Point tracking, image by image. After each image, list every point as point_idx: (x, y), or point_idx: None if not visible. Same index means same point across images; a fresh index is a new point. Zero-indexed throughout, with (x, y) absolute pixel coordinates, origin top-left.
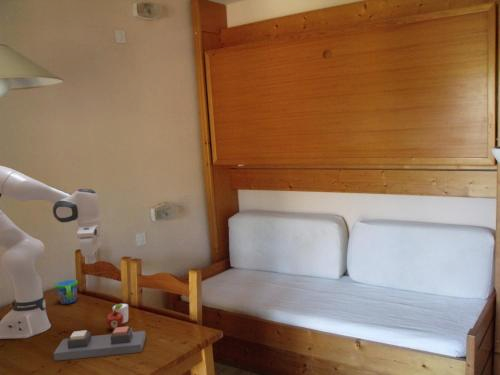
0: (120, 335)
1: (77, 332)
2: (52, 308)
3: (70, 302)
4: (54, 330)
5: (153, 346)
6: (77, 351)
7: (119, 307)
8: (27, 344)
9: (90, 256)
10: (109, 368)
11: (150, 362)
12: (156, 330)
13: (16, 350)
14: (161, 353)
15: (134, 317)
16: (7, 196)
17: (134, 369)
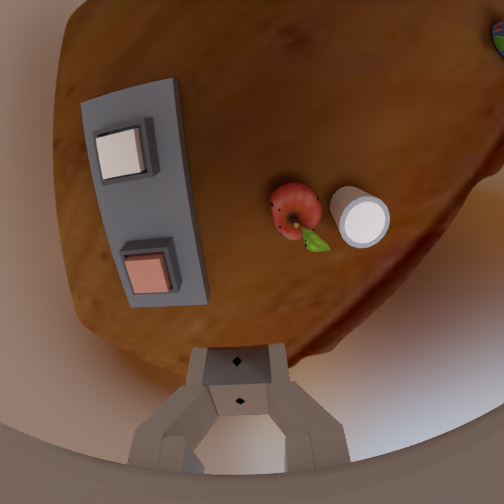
0: (127, 275)
1: (124, 146)
2: (470, 2)
3: (495, 45)
4: (314, 9)
5: (164, 314)
6: (90, 163)
7: (305, 245)
8: None
9: (156, 426)
10: (68, 250)
11: (100, 315)
12: (254, 307)
13: None
14: (135, 329)
15: None
16: None
17: (74, 294)
